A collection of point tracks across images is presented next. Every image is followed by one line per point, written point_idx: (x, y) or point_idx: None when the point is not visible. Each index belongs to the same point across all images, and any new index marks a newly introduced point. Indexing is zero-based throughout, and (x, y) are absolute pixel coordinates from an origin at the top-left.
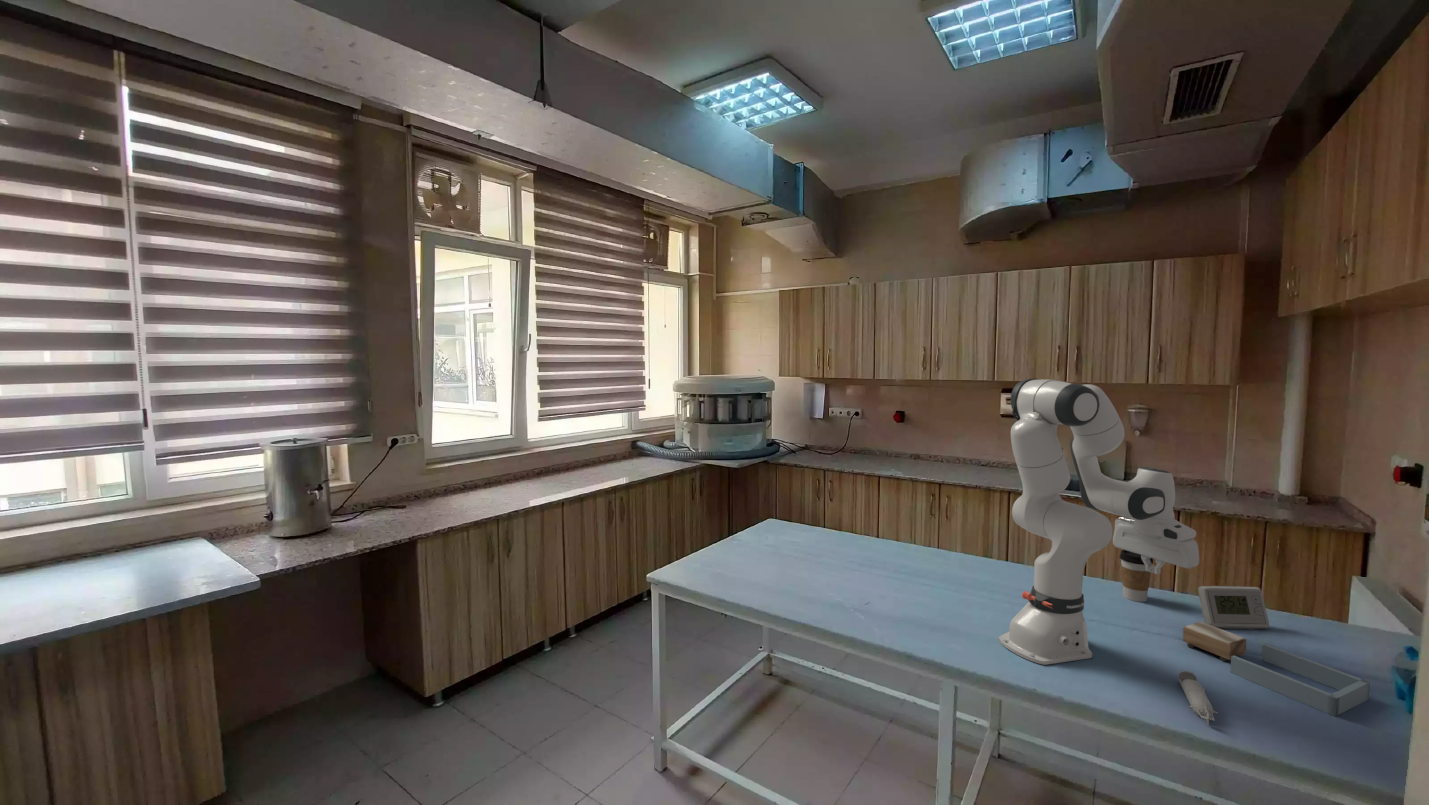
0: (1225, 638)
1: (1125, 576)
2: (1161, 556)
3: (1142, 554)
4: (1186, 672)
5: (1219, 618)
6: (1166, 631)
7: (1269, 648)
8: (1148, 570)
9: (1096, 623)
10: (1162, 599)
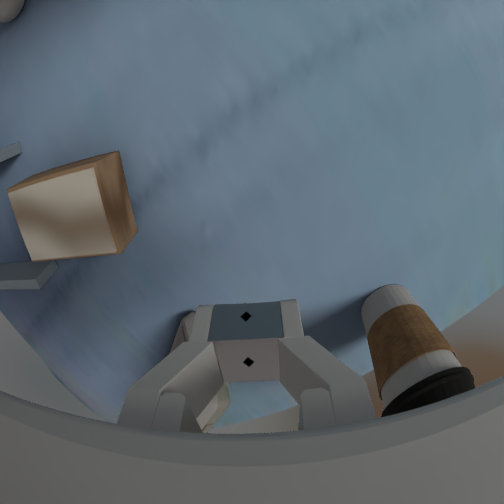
0: (25, 210)
1: (428, 327)
2: (54, 465)
3: (348, 433)
4: (1, 6)
5: (179, 344)
6: (206, 186)
7: (29, 278)
8: (270, 306)
9: (334, 25)
10: (343, 349)
